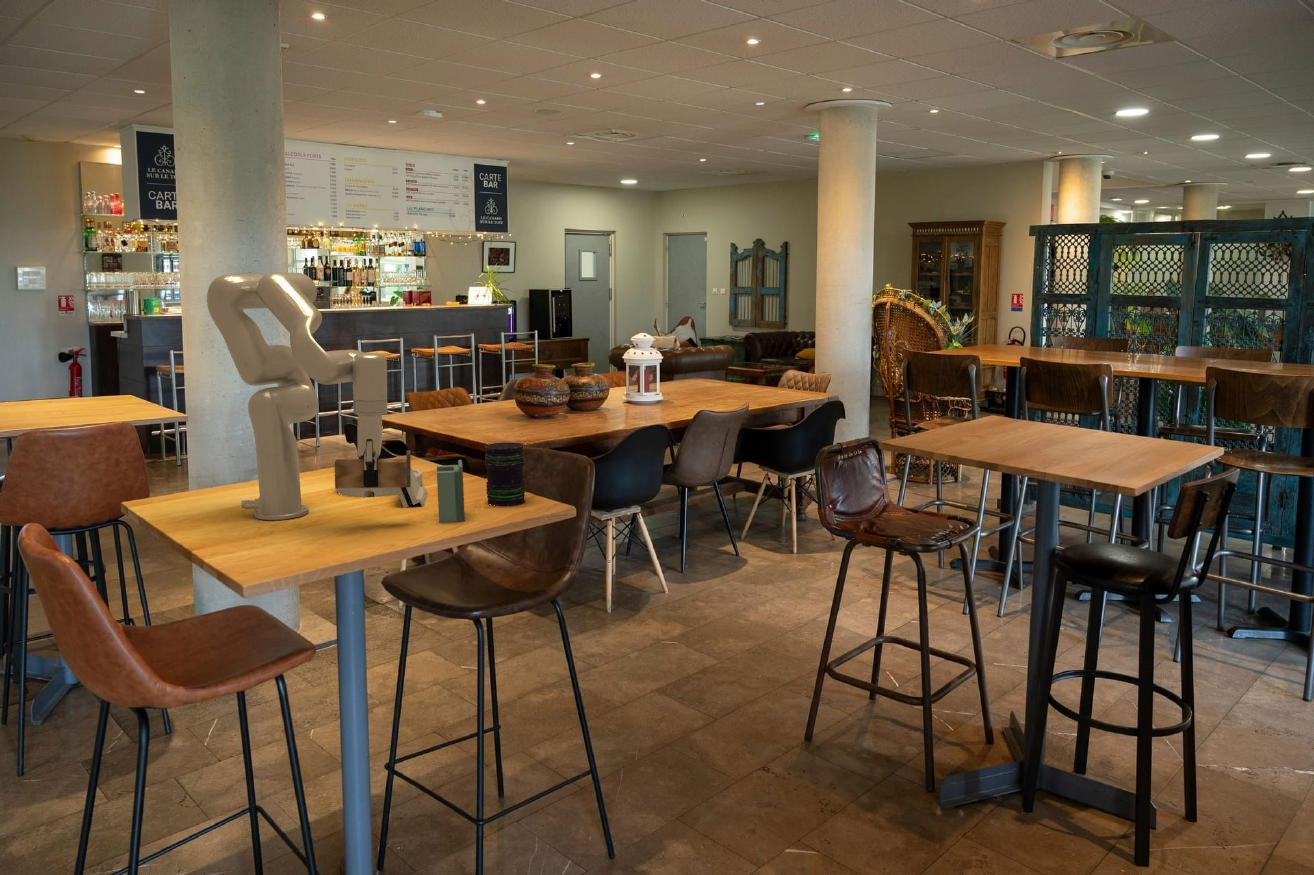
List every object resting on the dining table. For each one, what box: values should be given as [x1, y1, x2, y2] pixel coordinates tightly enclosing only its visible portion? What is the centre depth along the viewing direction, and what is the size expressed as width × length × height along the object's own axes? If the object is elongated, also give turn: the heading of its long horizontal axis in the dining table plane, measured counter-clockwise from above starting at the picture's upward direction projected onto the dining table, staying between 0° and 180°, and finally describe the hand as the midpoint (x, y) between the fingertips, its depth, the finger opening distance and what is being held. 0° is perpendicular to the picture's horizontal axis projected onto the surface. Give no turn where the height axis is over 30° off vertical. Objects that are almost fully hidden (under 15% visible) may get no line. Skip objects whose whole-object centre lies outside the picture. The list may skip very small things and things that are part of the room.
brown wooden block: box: [334, 450, 412, 489], centre depth 227 cm, size 17×4×8 cm, turn 103°
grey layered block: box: [396, 467, 428, 509], centre depth 254 cm, size 17×5×10 cm, turn 10°
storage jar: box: [484, 442, 526, 507], centre depth 250 cm, size 10×10×15 cm
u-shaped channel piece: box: [436, 459, 466, 524], centre depth 235 cm, size 6×10×13 cm, turn 13°
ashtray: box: [335, 468, 424, 498], centre depth 271 cm, size 23×23×4 cm
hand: (371, 483), depth 227 cm, fingers closed on brown wooden block, 4 cm apart
